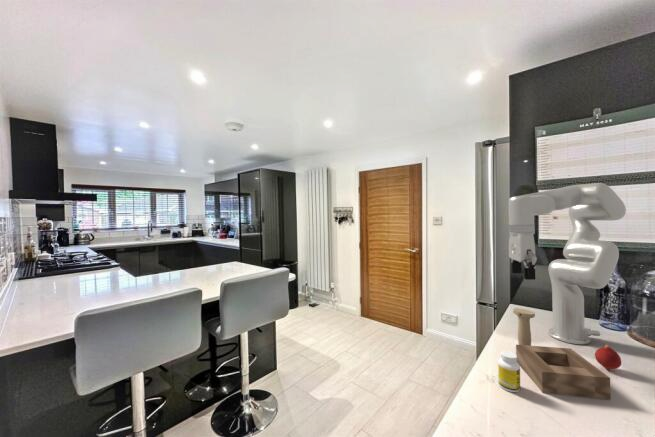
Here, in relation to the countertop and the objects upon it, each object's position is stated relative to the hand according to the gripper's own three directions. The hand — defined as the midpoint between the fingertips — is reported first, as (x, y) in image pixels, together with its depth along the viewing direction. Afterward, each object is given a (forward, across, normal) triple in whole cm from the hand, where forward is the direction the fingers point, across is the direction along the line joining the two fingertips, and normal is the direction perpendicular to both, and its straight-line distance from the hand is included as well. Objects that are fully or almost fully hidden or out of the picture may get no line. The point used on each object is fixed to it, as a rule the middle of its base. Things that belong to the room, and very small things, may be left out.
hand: (522, 276), depth 97 cm
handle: (+28, 0, 0) cm, 28 cm away
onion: (+28, +8, +20) cm, 36 cm away
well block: (+28, +16, +2) cm, 32 cm away
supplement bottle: (+28, +23, -14) cm, 39 cm away
